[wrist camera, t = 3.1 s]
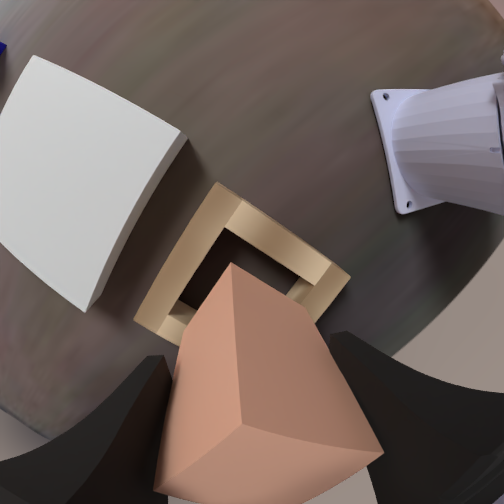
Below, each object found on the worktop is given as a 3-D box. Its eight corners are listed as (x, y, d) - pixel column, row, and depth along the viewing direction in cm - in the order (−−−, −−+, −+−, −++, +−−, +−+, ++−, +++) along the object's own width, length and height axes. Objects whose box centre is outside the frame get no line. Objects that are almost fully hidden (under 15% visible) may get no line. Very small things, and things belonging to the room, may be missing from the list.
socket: (336, 264, 16) (350, 277, 14) (256, 363, 18) (259, 384, 16) (217, 181, 14) (215, 182, 12) (143, 302, 16) (132, 320, 14)
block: (305, 307, 12) (384, 452, 4) (254, 366, 13) (279, 513, 5) (230, 262, 11) (242, 423, 4) (183, 331, 12) (152, 490, 4)
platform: (188, 138, 14) (180, 131, 11) (101, 294, 15) (85, 312, 13) (52, 65, 11) (33, 54, 8) (-9, 204, 13) (-30, 209, 10)
